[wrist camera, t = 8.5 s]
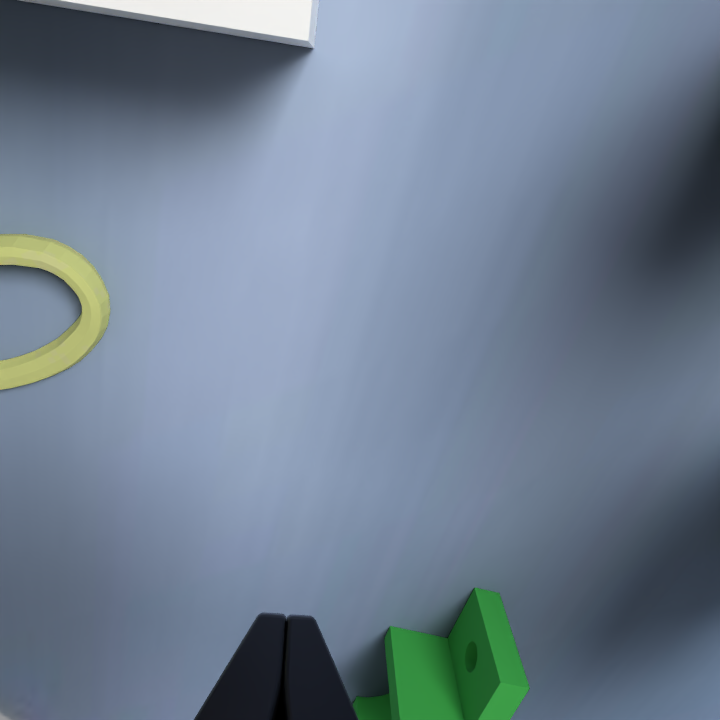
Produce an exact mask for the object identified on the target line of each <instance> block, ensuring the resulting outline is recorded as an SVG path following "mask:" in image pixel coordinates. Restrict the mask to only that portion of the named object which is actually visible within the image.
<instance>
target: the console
mask: <svg viewBox="0 0 720 720" xmlns="http://www.w3.org/2000/svg"><path fill="white" fill-rule="evenodd" d="M19 1H25V2H31V3H37V4H44V5H50V6H56V7H62V8H68V9H74V10H81V11H87V12H93V13H99V14H105V15H111V16H117V17H124V18H130V19H136V20H142V21H148V22H154V23H161V24H167V25H173V26H179V27H185V28H191V29H198V30H204V31H210V32H216V33H222V34H228V35H234V36H241V37H247V38H253V39H259V40H265V41H271V42H278V43H284V44H290V45H296V46H302V47H308V48H314V46H315V37H316V27H317V17H318V7H319V0H19Z"/></svg>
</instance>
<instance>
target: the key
mask: <svg viewBox="0 0 720 720" xmlns="http://www.w3.org/2000/svg"><path fill="white" fill-rule="evenodd" d="M0 265H21V266H28V267H35V268H41V269H44V270H46V271H49V272H51V273H54V274H55V275H57V276H58V277H60V278H61V279H63V280H64V281H65V282H66V283H67V284H68V285H69V286H70V287H71V288H72V289H73V290H74V292H75V293H76V294H77V296H78V297H79V299H80V302H81V305H82V313H81V315H80V316H79V318H78V319H77V320H76V322H75V323H74V324H73V325H72V326H71V327H70V328H69V329H68V330H67V331H66V332H64V333H63V334H62V335H61V336H60V337H59V338H57V339H56V340H54V341H52V342H51V343H49V344H47V345H45V346H43V347H42V348H40V349H38V350H36V351H33V352H31V353H28V354H25V355H22V356H19V357H15V358H11V359H8V360H2V361H0V390H2V389H8V388H13V387H18V386H22V385H26V384H30V383H34V382H37V381H40V380H43V379H45V378H48V377H51V376H53V375H56V374H58V373H60V372H62V371H64V370H66V369H68V368H70V367H72V366H73V365H75V364H76V363H78V362H79V361H81V360H82V359H83V358H84V357H85V356H86V355H87V354H88V353H89V352H90V351H92V349H93V348H94V347H95V346H96V344H97V343H98V342H99V341H100V339H101V338H102V336H103V334H104V332H105V330H106V328H107V326H108V321H109V315H110V301H109V294H108V292H107V289H106V287H105V285H104V282H103V280H102V279H101V277H100V276H99V274H98V272H97V271H96V269H95V268H94V266H93V265H92V264H91V263H90V262H89V261H88V260H87V259H86V258H85V257H84V256H83V255H81V254H80V253H78V252H77V251H75V250H74V249H72V248H71V247H69V246H67V245H65V244H63V243H60V242H58V241H56V240H53V239H48V238H43V237H38V236H33V235H27V234H0Z"/></svg>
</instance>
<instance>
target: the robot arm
mask: <svg viewBox="0 0 720 720" xmlns="http://www.w3.org/2000/svg"><path fill="white" fill-rule="evenodd" d="M194 720H359V719H358V717H357V714H356V712H355V710H354V708H353V705H352V703H351V701H350V698H349V696H348V694H347V691H346V689H345V687H344V684H343V682H342V680H341V677H340V675H339V673H338V671H337V668H336V666H335V664H334V661H333V659H332V657H331V654H330V652H329V650H328V647H327V645H326V643H325V640H324V638H323V636H322V633H321V631H320V629H319V627H318V624H317V622H316V620H315V619H314V618H313V617H312V616H306V615H289V616H288V617H287V620H286V616H285V615H284V614H278V613H260V614H259V615H258V616H257V618H256V619H255V621H254V622H253V624H252V626H251V627H250V629H249V631H248V632H247V634H246V635H245V637H244V639H243V640H242V642H241V644H240V645H239V647H238V648H237V650H236V652H235V653H234V655H233V657H232V658H231V660H230V662H229V663H228V665H227V666H226V668H225V670H224V671H223V673H222V675H221V676H220V678H219V680H218V681H217V683H216V684H215V686H214V688H213V689H212V691H211V693H210V694H209V696H208V697H207V699H206V701H205V702H204V704H203V706H202V707H201V709H200V711H199V712H198V714H197V715H196V717H195V719H194Z"/></svg>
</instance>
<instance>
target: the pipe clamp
mask: <svg viewBox="0 0 720 720" xmlns="http://www.w3.org/2000/svg"><path fill="white" fill-rule="evenodd" d="M384 641H385V652H386V662H387V673H388V684H389V693H388V694H385V695H381V696H376V697H359V696H357V697H356V699H355V701H354V703H353V708H354V710H355V712H356V714H357V717H358V719H359V720H510V719H511V717H512V716H513V714H514V712H515V711H516V709H517V708H518V706H519V705H520V703H521V701H522V700H523V698H524V697H525V695H526V694H527V692H528V690H529V689H530V687H529V684H528V681H527V678H526V675H525V672H524V669H523V665H522V662H521V659H520V656H519V653H518V650H517V647H516V644H515V640H514V637H513V634H512V631H511V628H510V625H509V622H508V619H507V615H506V612H505V609H504V606H503V603H502V600H501V597H500V594H499V593H496V592H492V591H487V590H483V589H479V588H474V589H473V591H472V593H471V595H470V597H469V599H468V601H467V603H466V604H465V606H464V608H463V610H462V612H461V614H460V616H459V618H458V619H457V621H456V623H455V625H454V627H453V629H452V631H451V633H450V634H449V636H448V638H444V637H439V636H435V635H430V634H425V633H420V632H416V631H411V630H406V629H401V628H397V627H392V626H390V627H389V630H388V632H387V634H386V636H385V638H384Z"/></svg>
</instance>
